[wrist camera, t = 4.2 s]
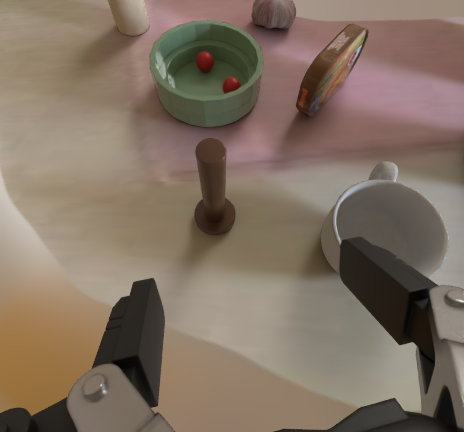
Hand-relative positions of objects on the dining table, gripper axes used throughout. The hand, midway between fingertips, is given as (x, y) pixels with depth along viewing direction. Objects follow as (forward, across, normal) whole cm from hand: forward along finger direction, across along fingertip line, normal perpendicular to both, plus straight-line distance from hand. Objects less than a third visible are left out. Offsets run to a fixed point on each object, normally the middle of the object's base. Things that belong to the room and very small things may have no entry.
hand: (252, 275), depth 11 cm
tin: (+34, -20, -6) cm, 40 cm away
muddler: (+22, 0, +6) cm, 23 cm away
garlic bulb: (+47, -17, -18) cm, 53 cm away
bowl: (+37, -3, -9) cm, 38 cm away
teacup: (+18, -17, +11) cm, 27 cm away
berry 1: (+38, -3, -13) cm, 40 cm away
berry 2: (+34, -6, -8) cm, 35 cm away
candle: (+49, +8, -20) cm, 54 cm away
